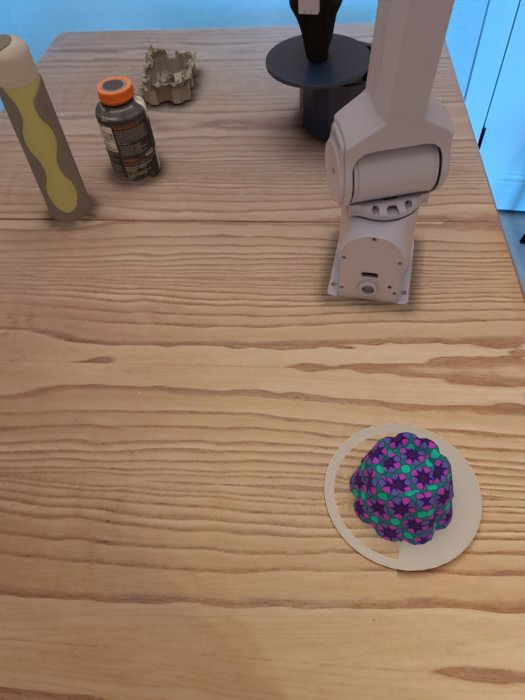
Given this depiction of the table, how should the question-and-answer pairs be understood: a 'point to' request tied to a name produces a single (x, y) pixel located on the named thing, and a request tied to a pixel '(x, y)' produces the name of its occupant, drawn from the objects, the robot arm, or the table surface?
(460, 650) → the table surface
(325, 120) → the pot
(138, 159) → the pill bottle
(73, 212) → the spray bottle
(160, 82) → the egg carton
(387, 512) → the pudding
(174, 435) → the table surface
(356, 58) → the lid
